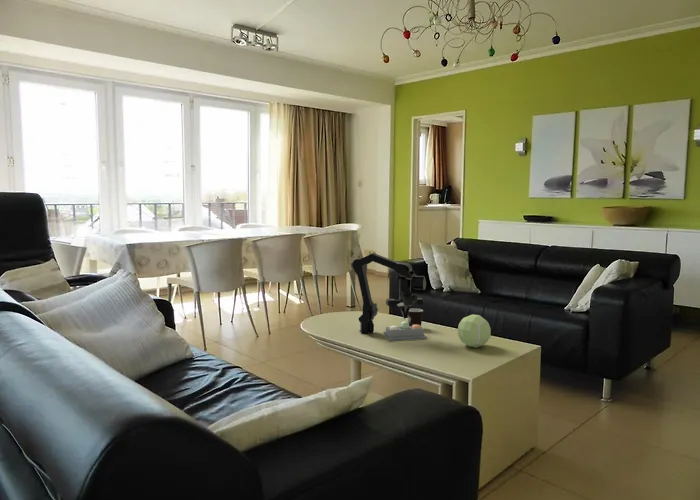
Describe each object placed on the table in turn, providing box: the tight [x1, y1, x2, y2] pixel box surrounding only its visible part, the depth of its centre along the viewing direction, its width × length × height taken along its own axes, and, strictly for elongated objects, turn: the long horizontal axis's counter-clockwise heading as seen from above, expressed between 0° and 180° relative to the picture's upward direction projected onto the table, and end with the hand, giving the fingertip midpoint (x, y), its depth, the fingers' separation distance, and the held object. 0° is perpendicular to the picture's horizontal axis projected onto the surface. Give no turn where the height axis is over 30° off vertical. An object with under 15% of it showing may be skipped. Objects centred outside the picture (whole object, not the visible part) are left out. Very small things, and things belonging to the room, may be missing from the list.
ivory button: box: [389, 325, 398, 330], centre depth 265 cm, size 4×4×4 cm
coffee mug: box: [407, 308, 424, 327], centre depth 285 cm, size 12×9×10 cm
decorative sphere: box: [457, 314, 492, 349], centre depth 248 cm, size 15×15×15 cm
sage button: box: [400, 320, 409, 329], centre depth 266 cm, size 4×4×4 cm
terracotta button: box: [412, 325, 420, 329], centre depth 267 cm, size 4×4×4 cm
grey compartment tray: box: [383, 325, 428, 342], centre depth 267 cm, size 19×13×4 cm
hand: (404, 318), depth 266 cm, fingers closed
